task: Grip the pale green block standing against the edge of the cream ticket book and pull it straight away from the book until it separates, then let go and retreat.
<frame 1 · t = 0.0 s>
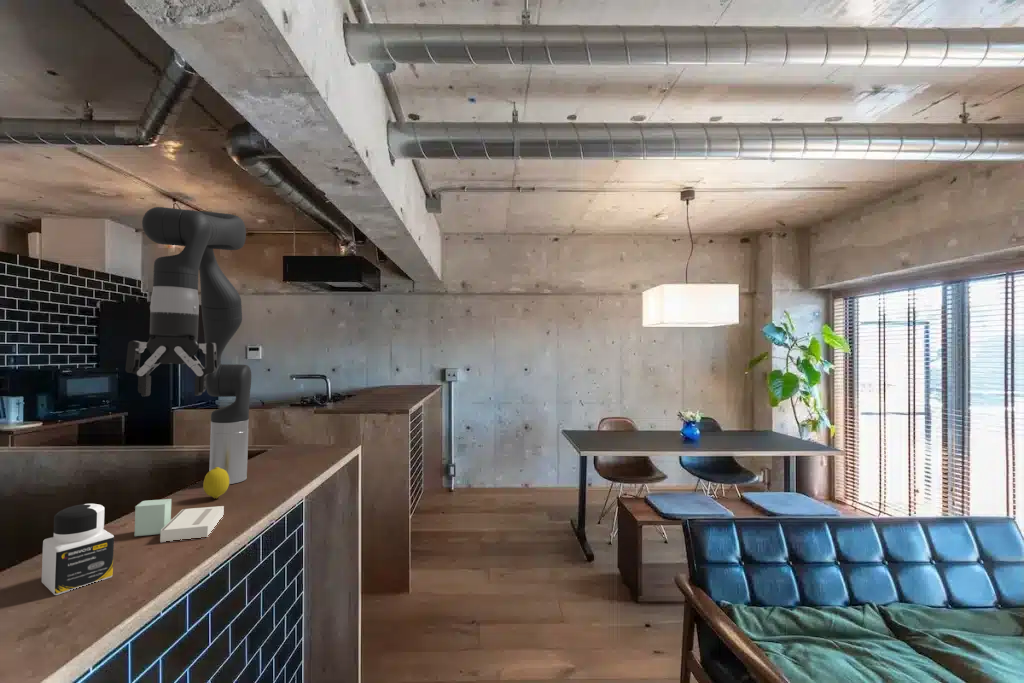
hand: (172, 395, 88), 29 cm above the worktop, tool pointing down, fingers open, 8 cm apart
pale green block: (153, 517, 94), point 3 cm above the worktop, slide at 0.0 cm
lemon: (215, 499, 115), on the worktop
medicine bottle: (77, 581, 75), on the worktop
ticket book: (194, 528, 97), on the worktop
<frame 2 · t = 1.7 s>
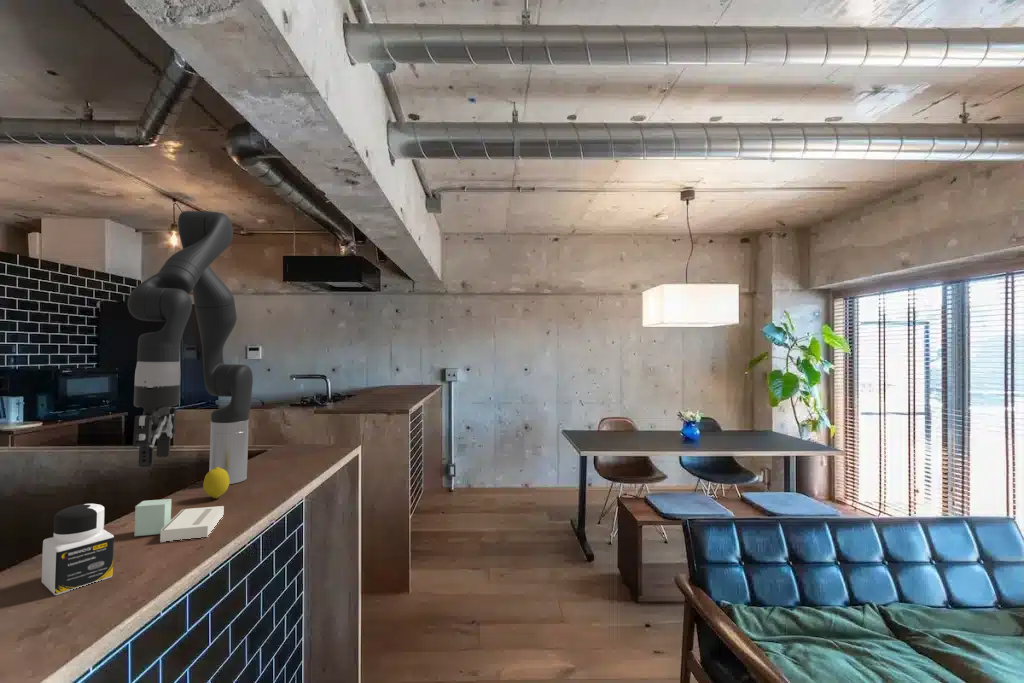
hand: (154, 461, 94), 15 cm above the worktop, tool pointing down, fingers open, 8 cm apart
nothing on the worktop moved.
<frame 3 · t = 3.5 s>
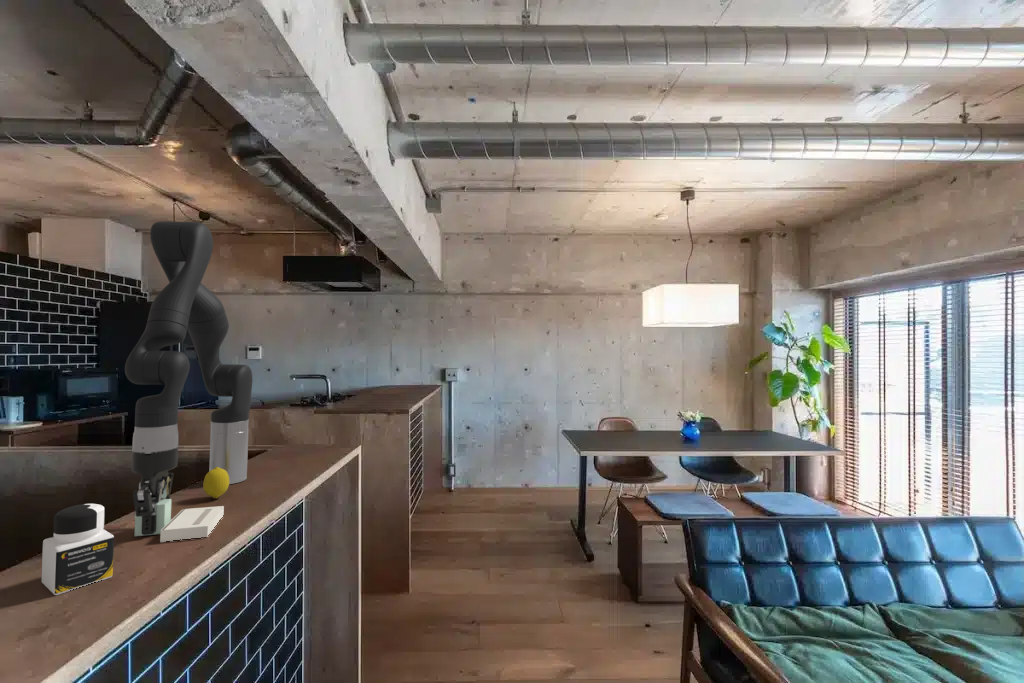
hand: (152, 529, 94), 1 cm above the worktop, tool pointing down, fingers closed on pale green block, 3 cm apart
pale green block: (153, 517, 94), point 3 cm above the worktop, slide at 0.0 cm, touching gripper
everything else where it was.
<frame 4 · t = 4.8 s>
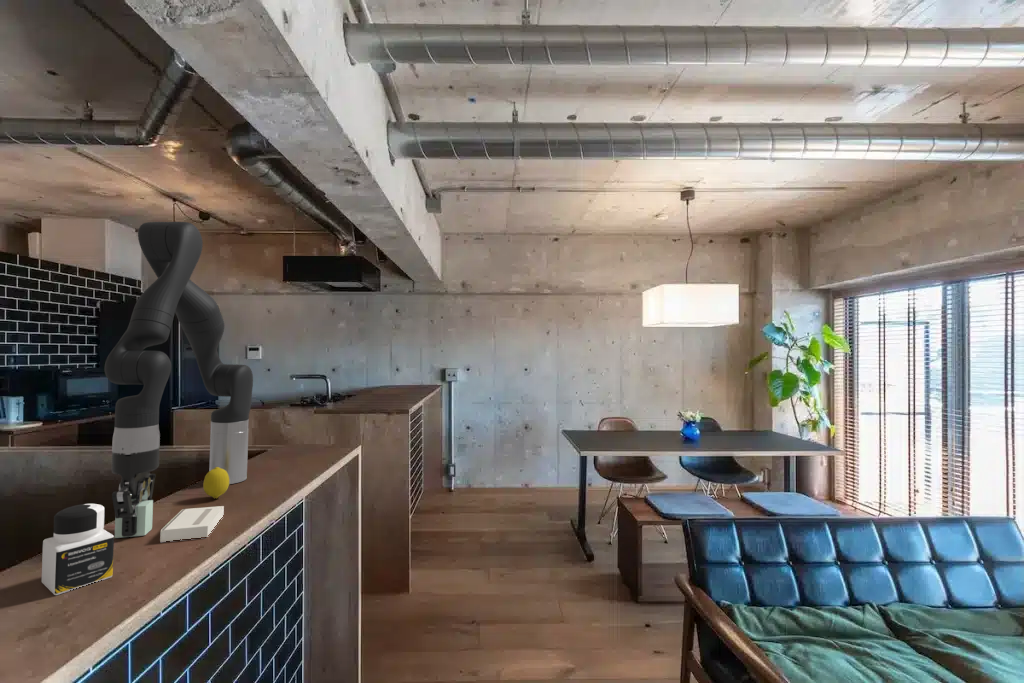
hand: (133, 531, 93), 1 cm above the worktop, tool pointing down, fingers closed on pale green block, 3 cm apart
pale green block: (134, 518, 93), point 3 cm above the worktop, slide at 3.3 cm, touching gripper
everything else where it was.
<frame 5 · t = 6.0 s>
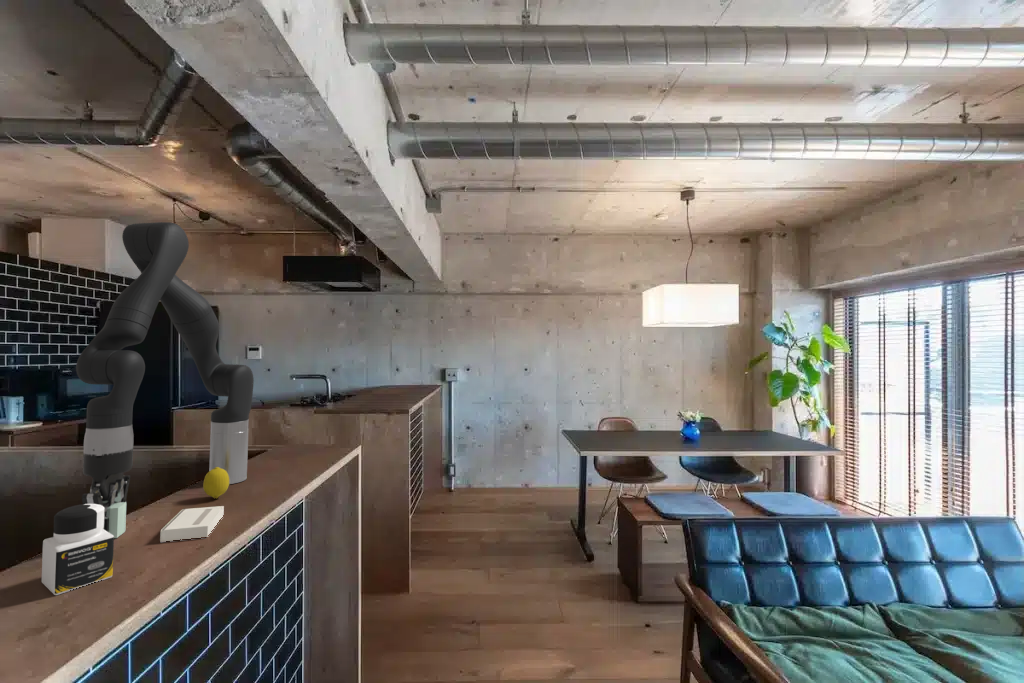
hand: (106, 533, 92), 1 cm above the worktop, tool pointing down, fingers closed on pale green block, 3 cm apart
pale green block: (106, 520, 92), point 3 cm above the worktop, slide at 7.9 cm, touching gripper
everything else where it was.
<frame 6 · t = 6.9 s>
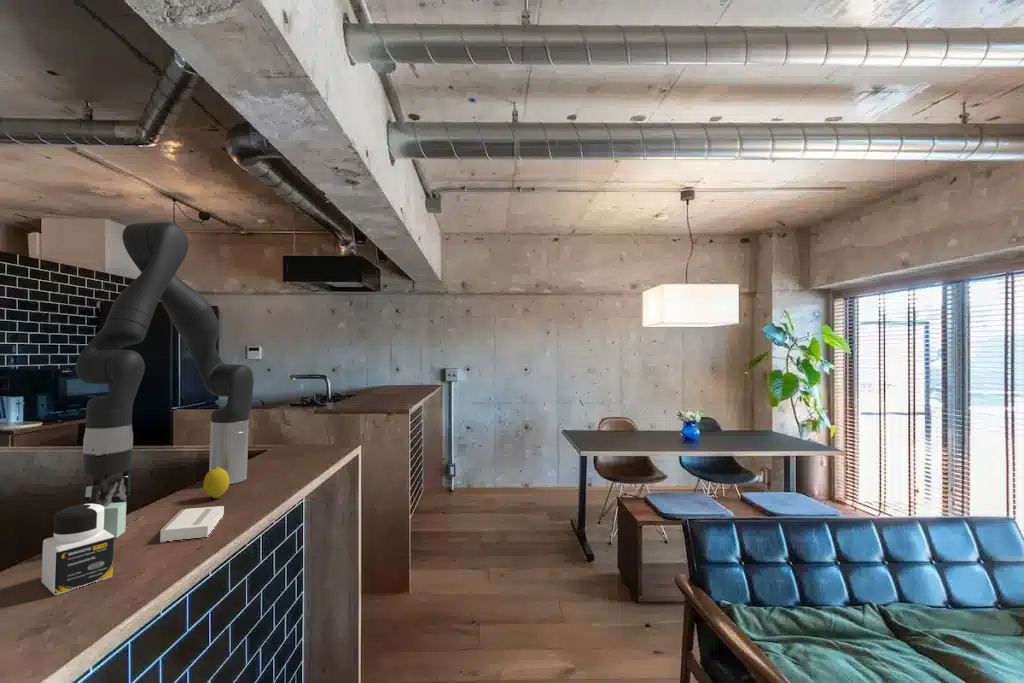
hand: (105, 528, 92), 2 cm above the worktop, tool pointing down, fingers open, 8 cm apart
pale green block: (106, 520, 92), point 3 cm above the worktop, slide at 7.9 cm
everything else where it was.
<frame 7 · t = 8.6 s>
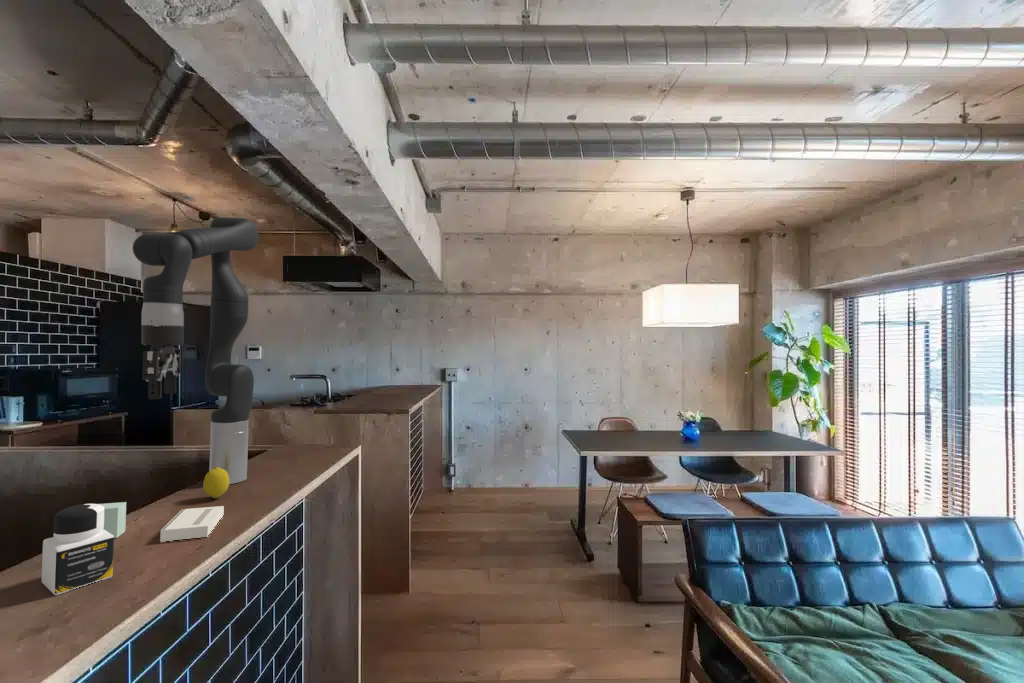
hand: (162, 396, 102), 27 cm above the worktop, tool pointing down, fingers open, 8 cm apart
nothing on the worktop moved.
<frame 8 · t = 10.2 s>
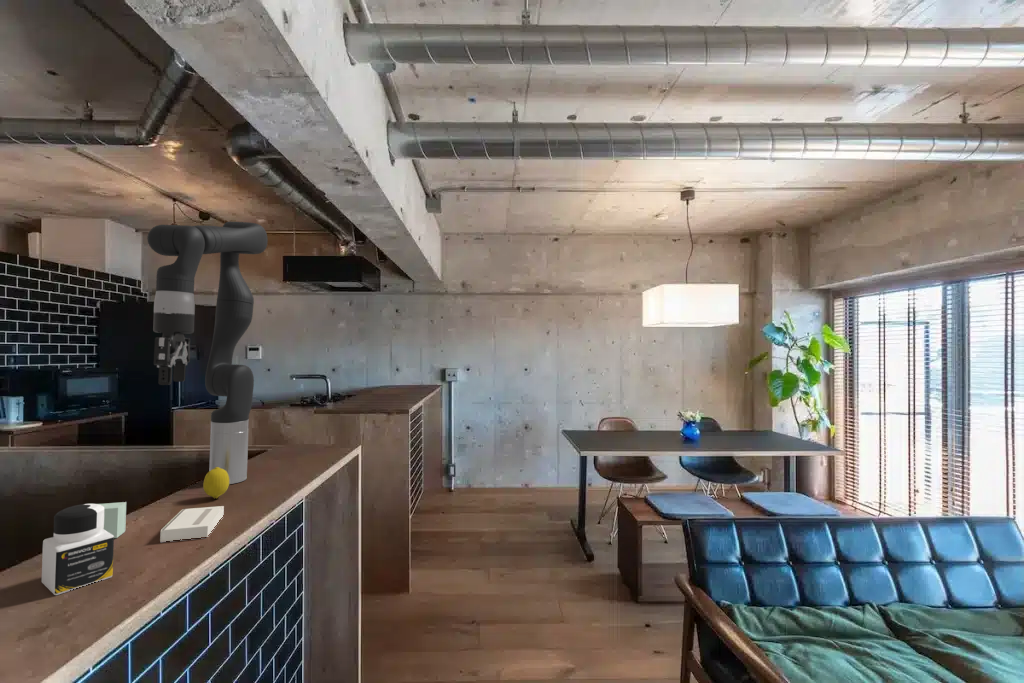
hand: (172, 383, 104), 30 cm above the worktop, tool pointing down, fingers open, 8 cm apart
nothing on the worktop moved.
at the end: pale green block slide at 7.9 cm; the gripper is holding nothing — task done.
